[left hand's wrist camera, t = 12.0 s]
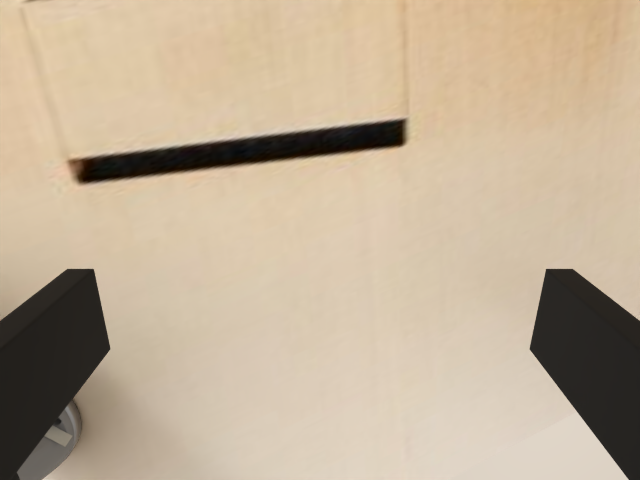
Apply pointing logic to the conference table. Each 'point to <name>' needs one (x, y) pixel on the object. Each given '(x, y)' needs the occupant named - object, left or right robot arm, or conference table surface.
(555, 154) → the conference table surface
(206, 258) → the conference table surface
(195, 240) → the conference table surface
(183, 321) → the conference table surface
